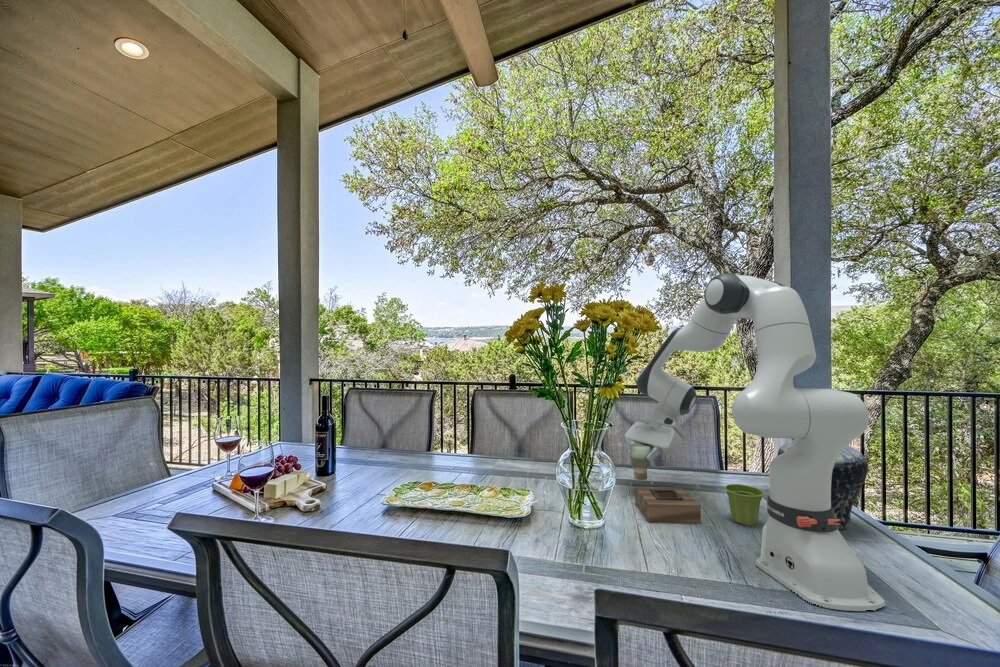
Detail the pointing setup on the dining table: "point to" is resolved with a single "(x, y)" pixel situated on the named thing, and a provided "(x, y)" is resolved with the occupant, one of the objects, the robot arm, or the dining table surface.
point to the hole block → (667, 505)
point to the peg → (639, 459)
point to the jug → (843, 480)
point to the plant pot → (744, 503)
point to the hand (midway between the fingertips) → (638, 457)
